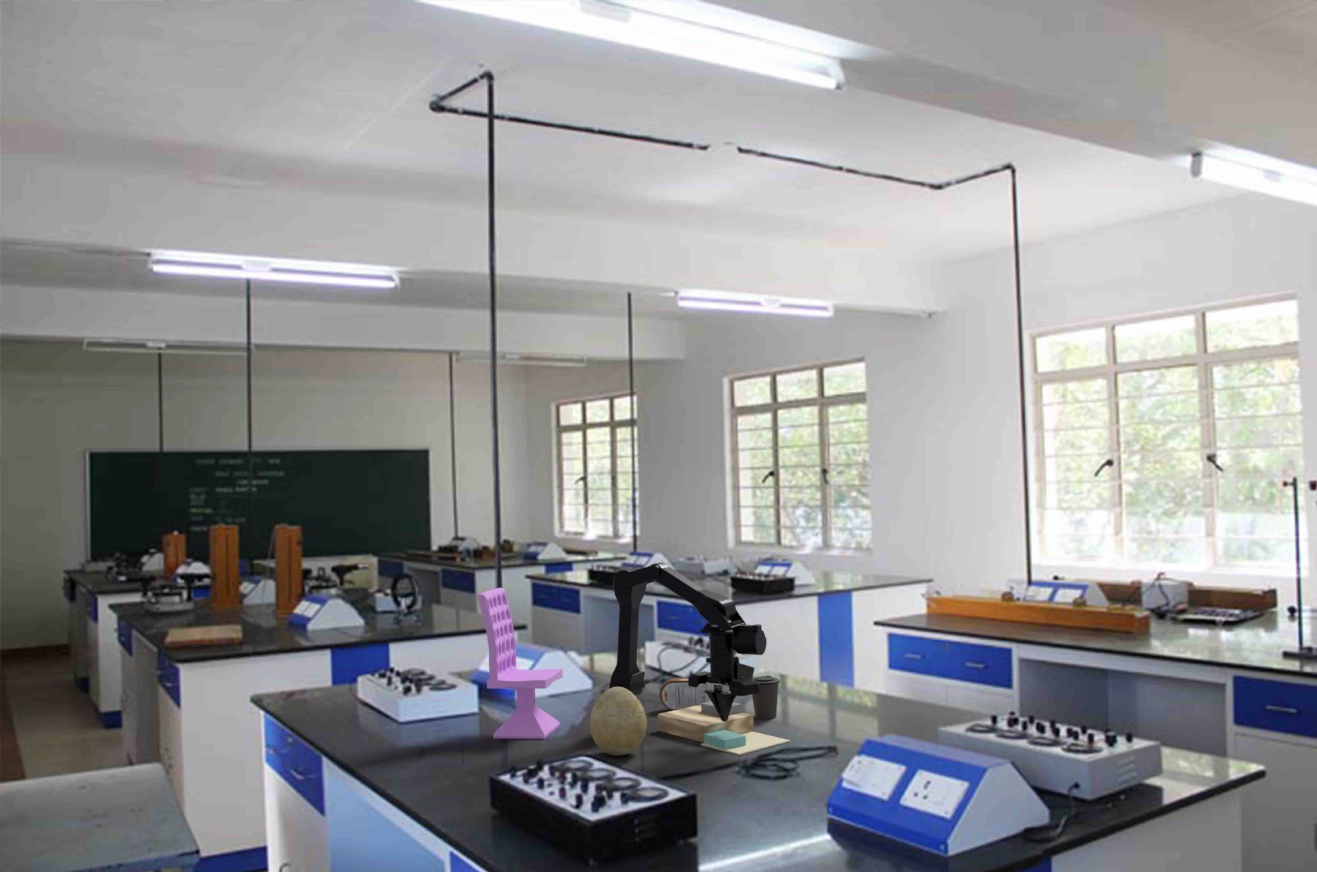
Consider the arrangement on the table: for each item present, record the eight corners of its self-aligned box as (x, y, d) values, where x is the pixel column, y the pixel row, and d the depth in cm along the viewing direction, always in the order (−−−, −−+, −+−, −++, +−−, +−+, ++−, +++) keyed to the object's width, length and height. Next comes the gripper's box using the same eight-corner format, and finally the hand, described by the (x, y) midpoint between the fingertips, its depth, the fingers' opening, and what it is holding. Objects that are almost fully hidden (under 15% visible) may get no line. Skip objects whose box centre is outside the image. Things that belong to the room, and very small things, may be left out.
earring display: (547, 739, 248) (542, 592, 249) (478, 739, 251) (474, 594, 253) (564, 725, 262) (559, 586, 264) (499, 724, 265) (495, 587, 267)
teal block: (724, 749, 232) (724, 740, 232) (704, 742, 239) (703, 733, 239) (746, 744, 235) (745, 735, 235) (725, 738, 242) (724, 729, 242)
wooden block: (707, 743, 239) (706, 725, 239) (658, 730, 253) (657, 713, 253) (753, 731, 248) (753, 714, 249) (704, 719, 262) (703, 703, 263)
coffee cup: (781, 712, 267) (779, 673, 268) (782, 720, 259) (780, 679, 260) (749, 713, 268) (748, 674, 268) (749, 720, 260) (748, 680, 260)
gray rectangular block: (723, 716, 248) (723, 707, 248) (701, 711, 254) (701, 703, 254) (741, 712, 252) (741, 703, 252) (719, 707, 258) (719, 699, 258)
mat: (739, 754, 228) (739, 753, 228) (701, 744, 238) (701, 743, 238) (790, 741, 238) (790, 740, 238) (751, 732, 248) (751, 731, 248)
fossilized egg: (584, 751, 236) (581, 685, 236) (636, 744, 240) (634, 679, 241) (600, 765, 224) (598, 695, 224) (655, 757, 228) (653, 688, 229)
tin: (716, 708, 276) (715, 676, 276) (716, 710, 273) (715, 678, 273) (660, 709, 277) (659, 677, 278) (659, 711, 274) (658, 679, 274)
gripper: (775, 652, 237) (778, 721, 237) (720, 644, 252) (723, 709, 251) (739, 658, 230) (742, 729, 230) (685, 650, 245) (688, 717, 244)
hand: (724, 720), depth 239 cm, fingers closed
